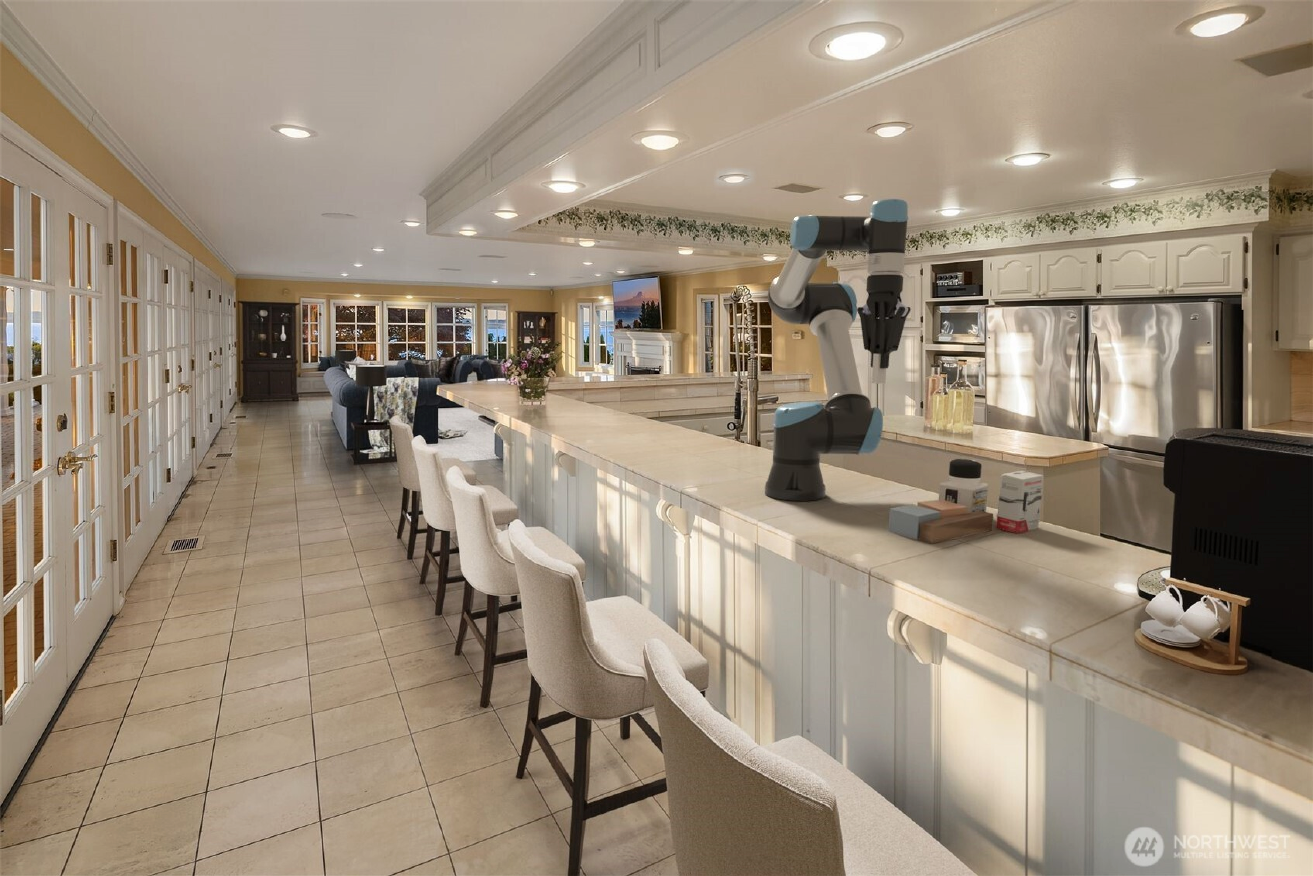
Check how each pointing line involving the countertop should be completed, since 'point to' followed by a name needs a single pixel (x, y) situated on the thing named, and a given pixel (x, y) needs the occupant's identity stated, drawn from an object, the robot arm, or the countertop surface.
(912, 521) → the slate block
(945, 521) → the walnut board
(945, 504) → the terracotta block
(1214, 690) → the countertop surface
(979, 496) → the container
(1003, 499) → the ink box
